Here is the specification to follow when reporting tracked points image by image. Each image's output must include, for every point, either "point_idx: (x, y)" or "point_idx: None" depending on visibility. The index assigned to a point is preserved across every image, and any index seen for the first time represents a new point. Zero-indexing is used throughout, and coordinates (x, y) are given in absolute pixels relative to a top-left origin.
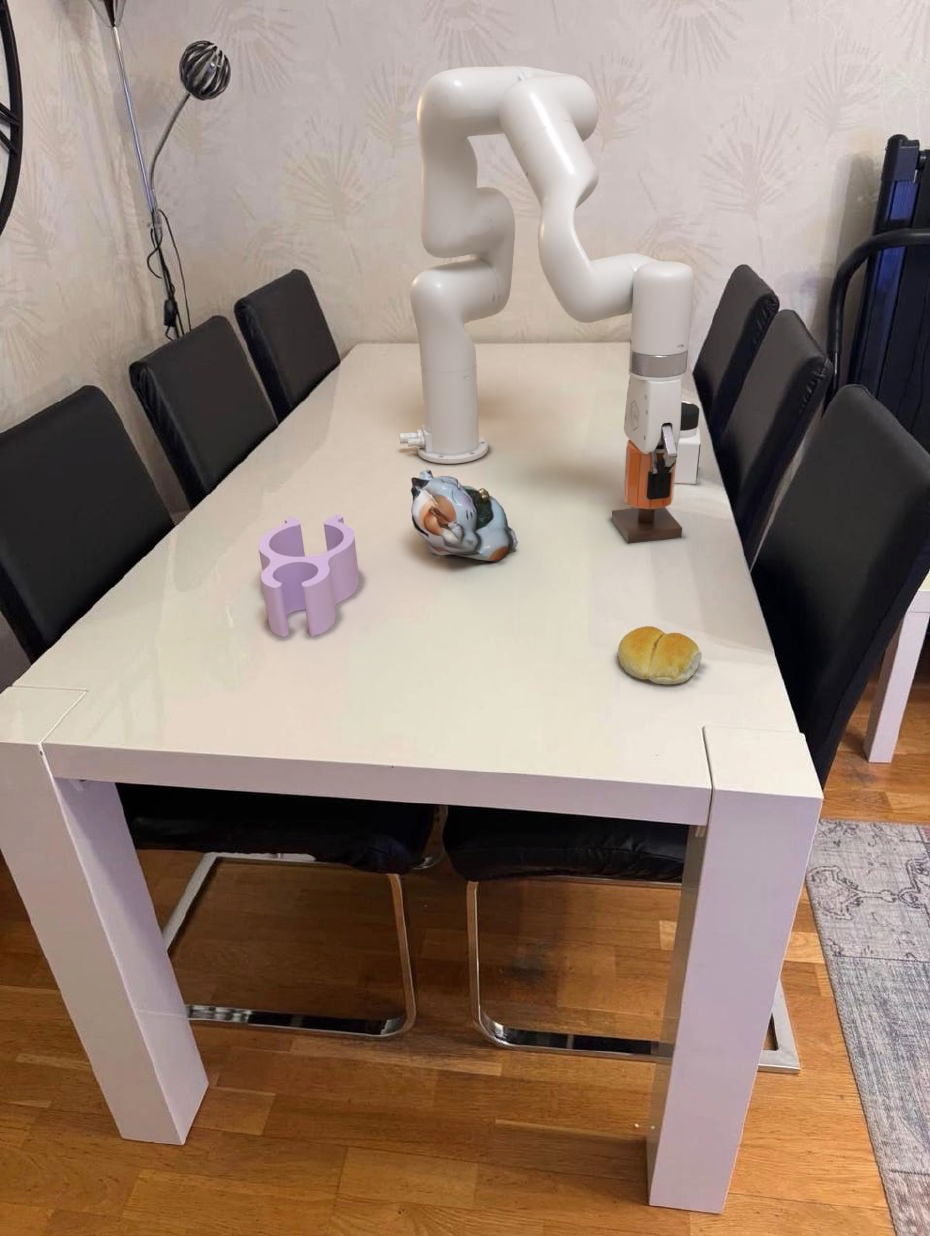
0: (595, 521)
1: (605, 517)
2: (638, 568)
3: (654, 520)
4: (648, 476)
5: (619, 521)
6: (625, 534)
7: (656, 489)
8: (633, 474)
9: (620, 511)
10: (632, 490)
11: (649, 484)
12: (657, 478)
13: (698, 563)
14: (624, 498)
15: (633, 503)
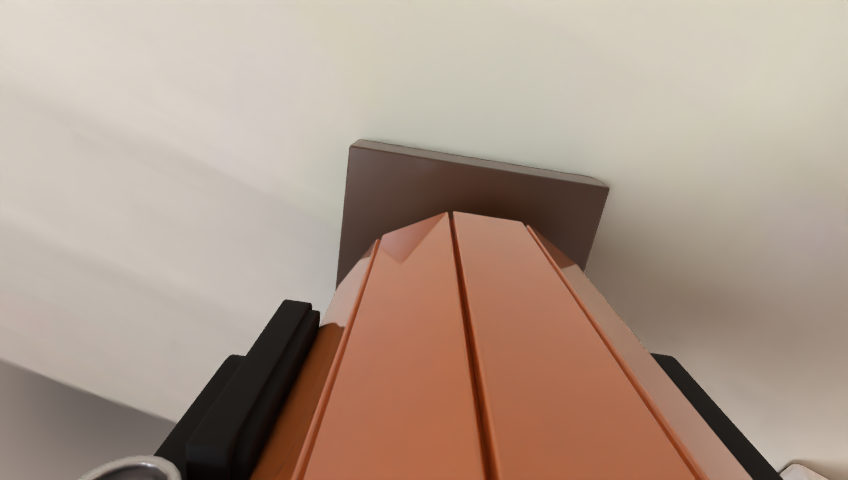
0: (618, 105)
1: (630, 167)
2: (131, 73)
3: None
4: (233, 409)
5: (485, 167)
6: (389, 147)
7: (216, 378)
8: (409, 327)
9: (578, 219)
10: (413, 258)
11: (242, 364)
12: (164, 453)
13: (135, 300)
14: (508, 222)
15: (405, 232)
